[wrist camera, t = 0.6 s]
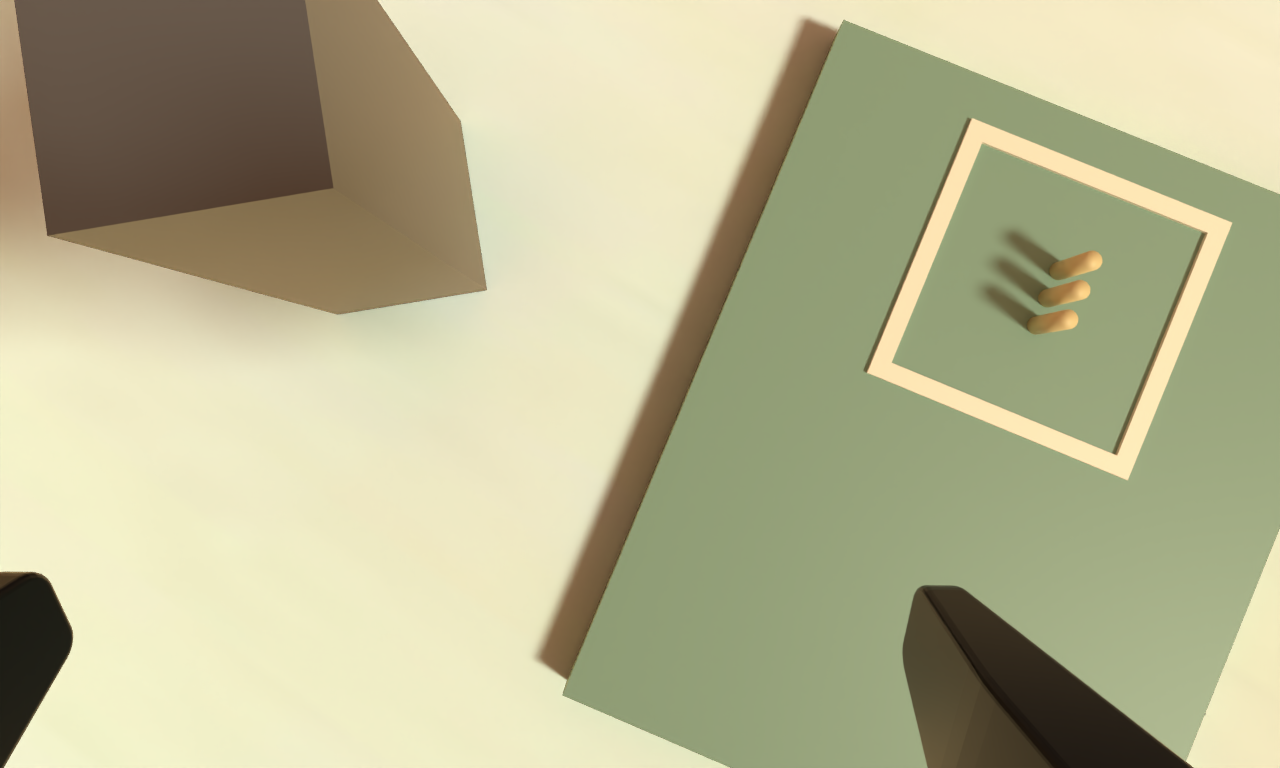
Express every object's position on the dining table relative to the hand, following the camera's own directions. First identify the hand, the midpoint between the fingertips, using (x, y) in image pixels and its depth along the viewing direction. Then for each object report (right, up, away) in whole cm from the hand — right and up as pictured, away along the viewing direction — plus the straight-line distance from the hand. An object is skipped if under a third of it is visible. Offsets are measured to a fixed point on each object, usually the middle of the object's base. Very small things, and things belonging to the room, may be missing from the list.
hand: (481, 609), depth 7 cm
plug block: (-5, +7, +13) cm, 16 cm away
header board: (+11, 0, +13) cm, 17 cm away
